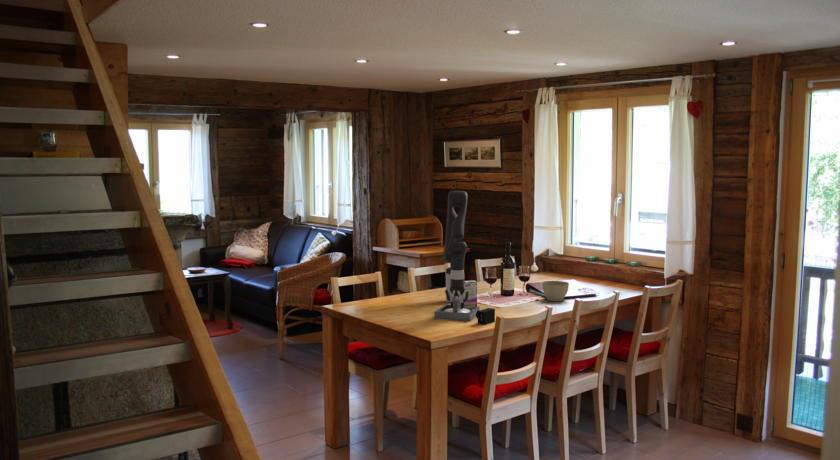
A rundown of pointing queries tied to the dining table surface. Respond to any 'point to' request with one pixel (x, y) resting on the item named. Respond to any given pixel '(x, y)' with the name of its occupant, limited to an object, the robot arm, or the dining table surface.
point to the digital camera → (485, 316)
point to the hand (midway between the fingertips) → (457, 308)
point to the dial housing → (456, 313)
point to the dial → (457, 307)
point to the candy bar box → (472, 295)
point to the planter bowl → (555, 290)
